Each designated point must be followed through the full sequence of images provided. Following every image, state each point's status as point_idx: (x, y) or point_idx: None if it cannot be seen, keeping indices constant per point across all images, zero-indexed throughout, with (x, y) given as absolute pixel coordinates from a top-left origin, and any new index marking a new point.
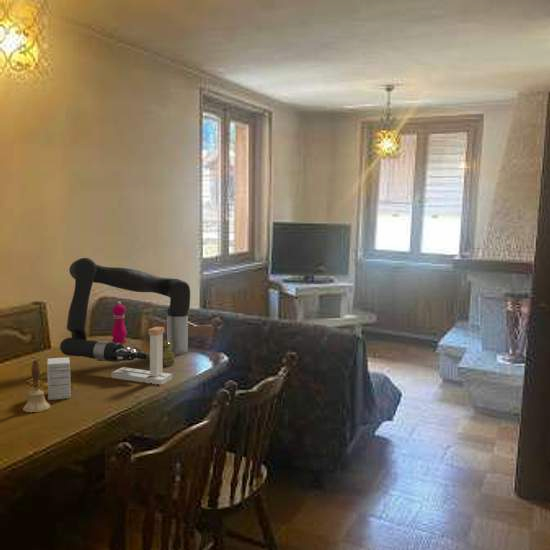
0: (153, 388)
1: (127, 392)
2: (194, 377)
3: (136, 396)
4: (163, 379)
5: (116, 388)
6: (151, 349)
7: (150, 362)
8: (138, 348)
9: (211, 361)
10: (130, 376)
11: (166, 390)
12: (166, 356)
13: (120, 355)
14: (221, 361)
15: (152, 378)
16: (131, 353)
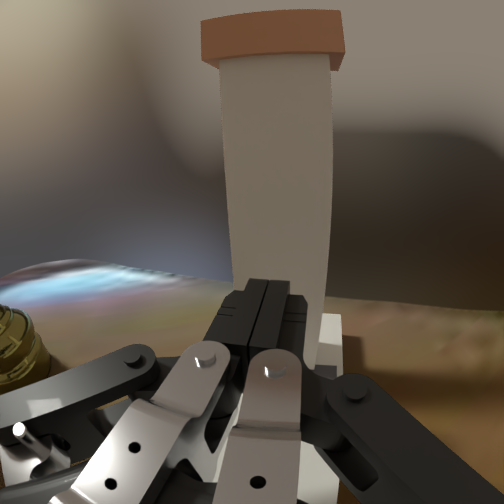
0: (388, 342)
1: (483, 392)
2: (208, 279)
3: (483, 345)
4: (323, 315)
5: (479, 466)
6: (330, 189)
7: (324, 295)
8: (40, 381)
9: (56, 274)
10: (337, 488)
11: (379, 304)
12: (28, 330)
13: (490, 494)
14: (66, 261)
15: (340, 350)
16: (363, 397)
